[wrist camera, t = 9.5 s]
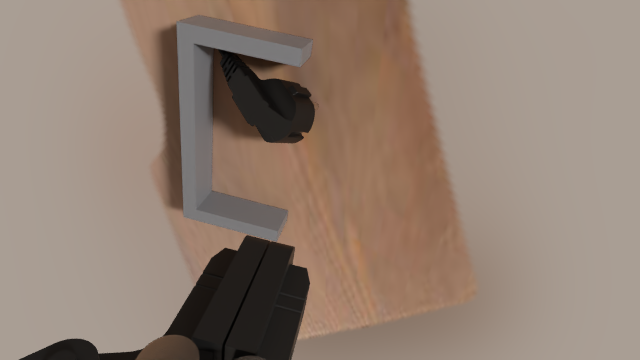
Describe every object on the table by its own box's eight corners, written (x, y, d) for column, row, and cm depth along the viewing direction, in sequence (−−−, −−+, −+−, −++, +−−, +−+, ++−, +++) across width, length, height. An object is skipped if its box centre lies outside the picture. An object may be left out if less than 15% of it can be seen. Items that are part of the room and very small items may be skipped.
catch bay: (198, 14, 36) (176, 21, 33) (313, 39, 35) (302, 48, 32) (200, 197, 47) (183, 216, 44) (286, 220, 46) (276, 241, 43)
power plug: (222, 11, 35) (287, 108, 30) (281, 32, 40) (342, 116, 36) (195, 60, 37) (250, 155, 33) (253, 73, 43) (307, 155, 39)
